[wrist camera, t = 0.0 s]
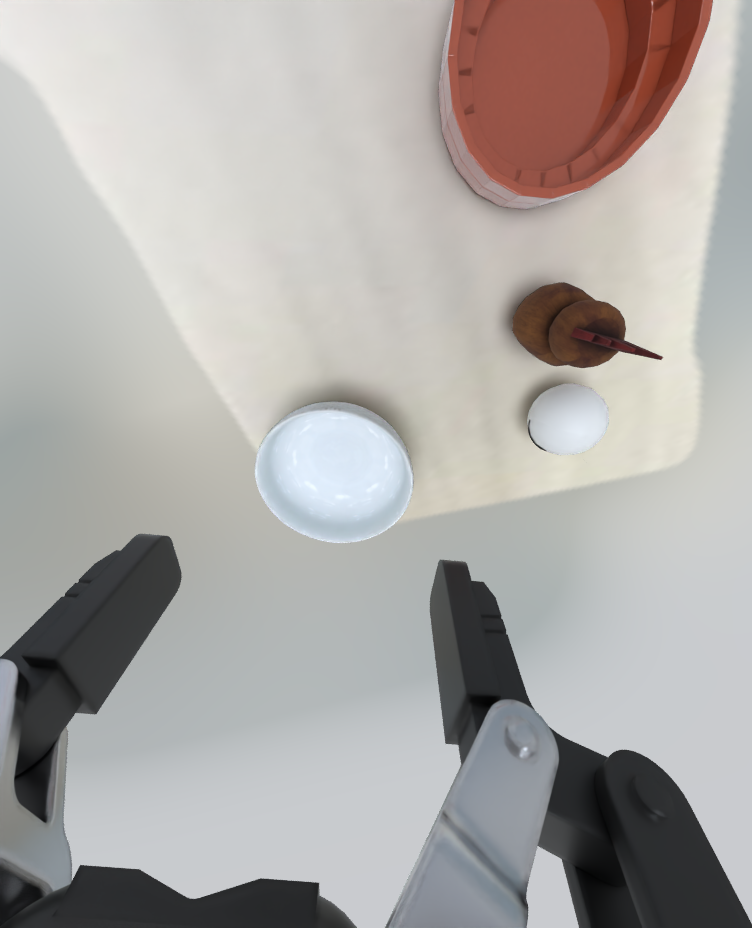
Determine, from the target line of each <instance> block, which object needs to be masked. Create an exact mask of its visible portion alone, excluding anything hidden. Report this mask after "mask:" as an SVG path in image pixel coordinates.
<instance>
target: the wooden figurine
mask: <svg viewBox="0 0 752 928" xmlns="http://www.w3.org/2000/svg"><path fill="white" fill-rule="evenodd" d="M512 331H513V333H514V335H515V336H516V338H517V340H518V341H519V342H520V343H521V344H522V345H523V346H524V347H525V348H526V349H527V351H529V352H530V353H531V354H533V355H534V356H535V357H537V358H538V359H540V360H542V361H544V362H546V363H548V364H550V365H553V366H562V365H570V366H574V367H579V368H586V367H594V366H598V365H600V364H602V363H604V362H606V361H608V360H610V359H611V358H612V357H613V356H614V355H615V354H616V353H618V352H619V351H621V352H625V353H630V354H635V355H640V356H644V357H649V358H654V359H659V360H661V359H662V358H663V357H662V356H659V355H657V354H655V353H652V352H650V351H648V350H646V349H643V348H641V347H639V346H636V345H634V344H632V343H629V342H627V341H624V337H625V331H626V327H625V321H624V318H623V316H622V314H621V313H620V311H619V310H618V309H616V308H615V307H613V306H612V305H610V304H609V303H606V302H601V301H596V300H595V299H593V298H592V297H591V296H589V295H588V294H586V293H585V292H584V291H583V290H581V289H579V288H577V287H575V286H572V285H570V284H567V283H555V284H551V285H546V286H543V287H540V288H539V289H537V290H536V291H535V292H533V293H532V294H530V295H529V296H527V297H526V298H525V299H524V301H523V302H522V303H521V304H520V305H519V307H518V309H517V311H516V313H515V315H514V317H513V328H512Z"/></svg>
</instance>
